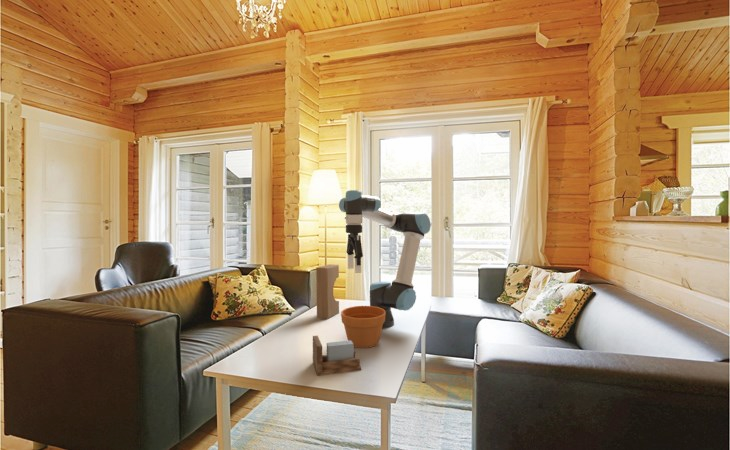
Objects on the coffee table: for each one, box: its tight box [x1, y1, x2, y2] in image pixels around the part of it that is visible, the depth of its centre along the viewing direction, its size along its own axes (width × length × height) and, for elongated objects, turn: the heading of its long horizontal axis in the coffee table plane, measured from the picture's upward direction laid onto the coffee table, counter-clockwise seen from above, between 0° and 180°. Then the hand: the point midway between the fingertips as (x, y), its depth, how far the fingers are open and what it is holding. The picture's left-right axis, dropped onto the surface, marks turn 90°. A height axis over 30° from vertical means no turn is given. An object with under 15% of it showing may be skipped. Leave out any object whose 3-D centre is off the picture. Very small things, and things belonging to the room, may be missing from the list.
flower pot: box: [340, 305, 386, 349], centre depth 160 cm, size 21×21×15 cm
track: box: [312, 335, 362, 377], centre depth 134 cm, size 17×12×11 cm
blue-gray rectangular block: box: [326, 340, 354, 362], centre depth 135 cm, size 10×4×8 cm, turn 105°
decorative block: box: [315, 264, 340, 320], centre depth 206 cm, size 15×8×30 cm, turn 157°
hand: (354, 270), depth 156 cm, fingers open, 13 cm apart
